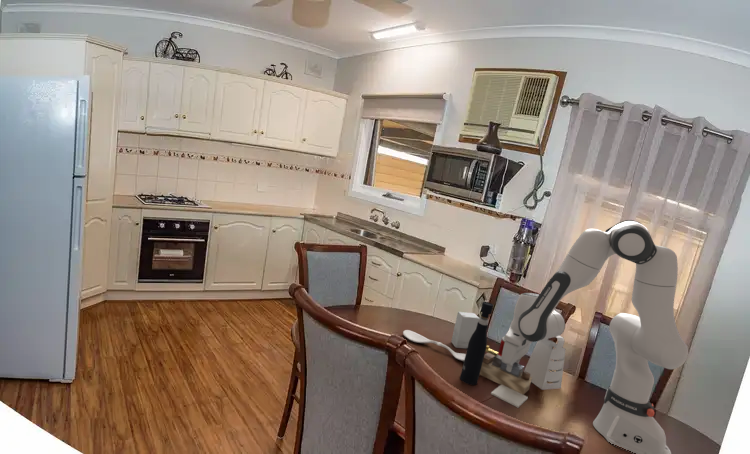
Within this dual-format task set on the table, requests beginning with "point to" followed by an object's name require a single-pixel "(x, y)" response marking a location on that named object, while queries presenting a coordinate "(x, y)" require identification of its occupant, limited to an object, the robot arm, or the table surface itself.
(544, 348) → the grater
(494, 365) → the plane body
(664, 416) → the table surface
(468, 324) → the skincare box
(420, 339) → the spoon
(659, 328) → the robot arm
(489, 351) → the latch bar
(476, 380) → the wine bottle
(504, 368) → the grey metal block
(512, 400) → the felt mat
